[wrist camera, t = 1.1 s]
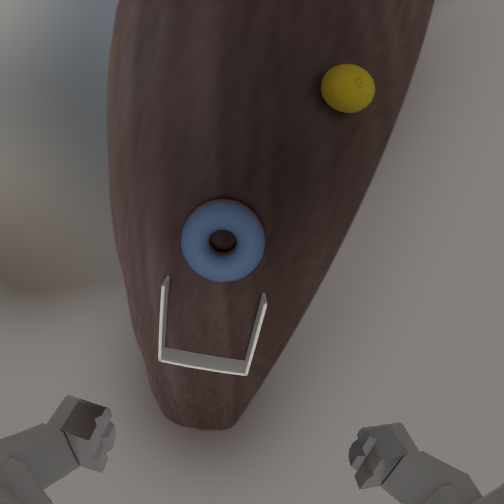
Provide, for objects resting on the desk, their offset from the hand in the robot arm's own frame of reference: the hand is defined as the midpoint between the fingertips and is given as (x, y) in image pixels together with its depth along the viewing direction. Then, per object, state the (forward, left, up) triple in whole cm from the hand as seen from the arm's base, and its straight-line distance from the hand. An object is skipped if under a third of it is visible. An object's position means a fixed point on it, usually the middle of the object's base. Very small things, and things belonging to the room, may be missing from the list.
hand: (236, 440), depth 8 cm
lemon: (-19, -1, -29) cm, 35 cm away
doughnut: (+3, 0, -30) cm, 30 cm away
